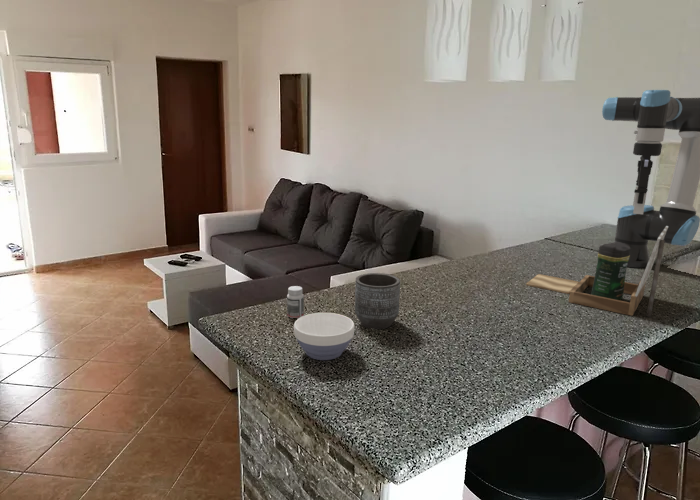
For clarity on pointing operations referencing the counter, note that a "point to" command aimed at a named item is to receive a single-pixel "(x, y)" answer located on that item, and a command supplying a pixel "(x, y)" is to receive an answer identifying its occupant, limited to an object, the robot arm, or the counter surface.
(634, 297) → the cold frame
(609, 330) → the counter surface
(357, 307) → the planter
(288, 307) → the pill bottle
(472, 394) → the counter surface
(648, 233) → the robot arm
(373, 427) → the counter surface
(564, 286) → the mat
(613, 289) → the coffee jar
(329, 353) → the bowl
